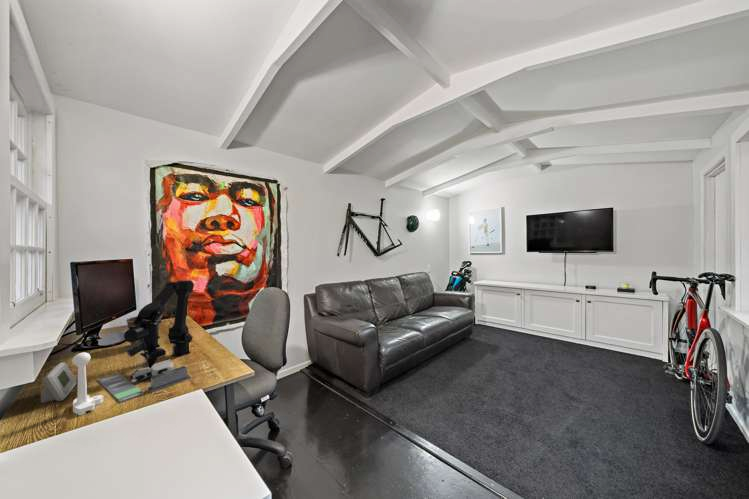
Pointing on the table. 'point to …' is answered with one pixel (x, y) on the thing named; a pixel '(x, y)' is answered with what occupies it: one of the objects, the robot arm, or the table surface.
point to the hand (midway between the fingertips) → (150, 368)
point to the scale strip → (120, 387)
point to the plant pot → (130, 323)
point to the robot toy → (152, 370)
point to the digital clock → (58, 383)
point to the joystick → (84, 387)
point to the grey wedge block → (168, 378)
